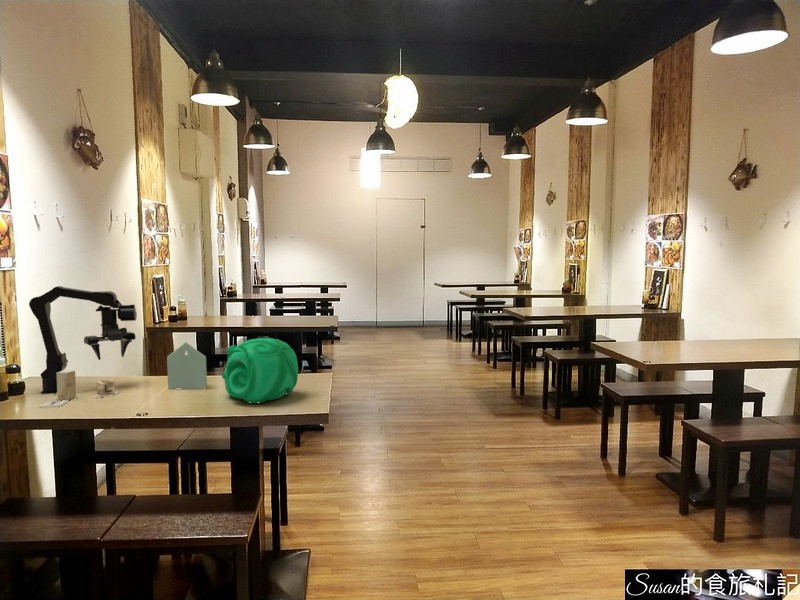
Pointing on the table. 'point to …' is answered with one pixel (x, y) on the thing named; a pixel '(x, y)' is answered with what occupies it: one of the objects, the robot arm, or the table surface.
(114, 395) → the pad
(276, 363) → the sculpture
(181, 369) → the house-shaped tag
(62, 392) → the box
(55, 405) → the pad
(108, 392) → the letter cube
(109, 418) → the table surface
